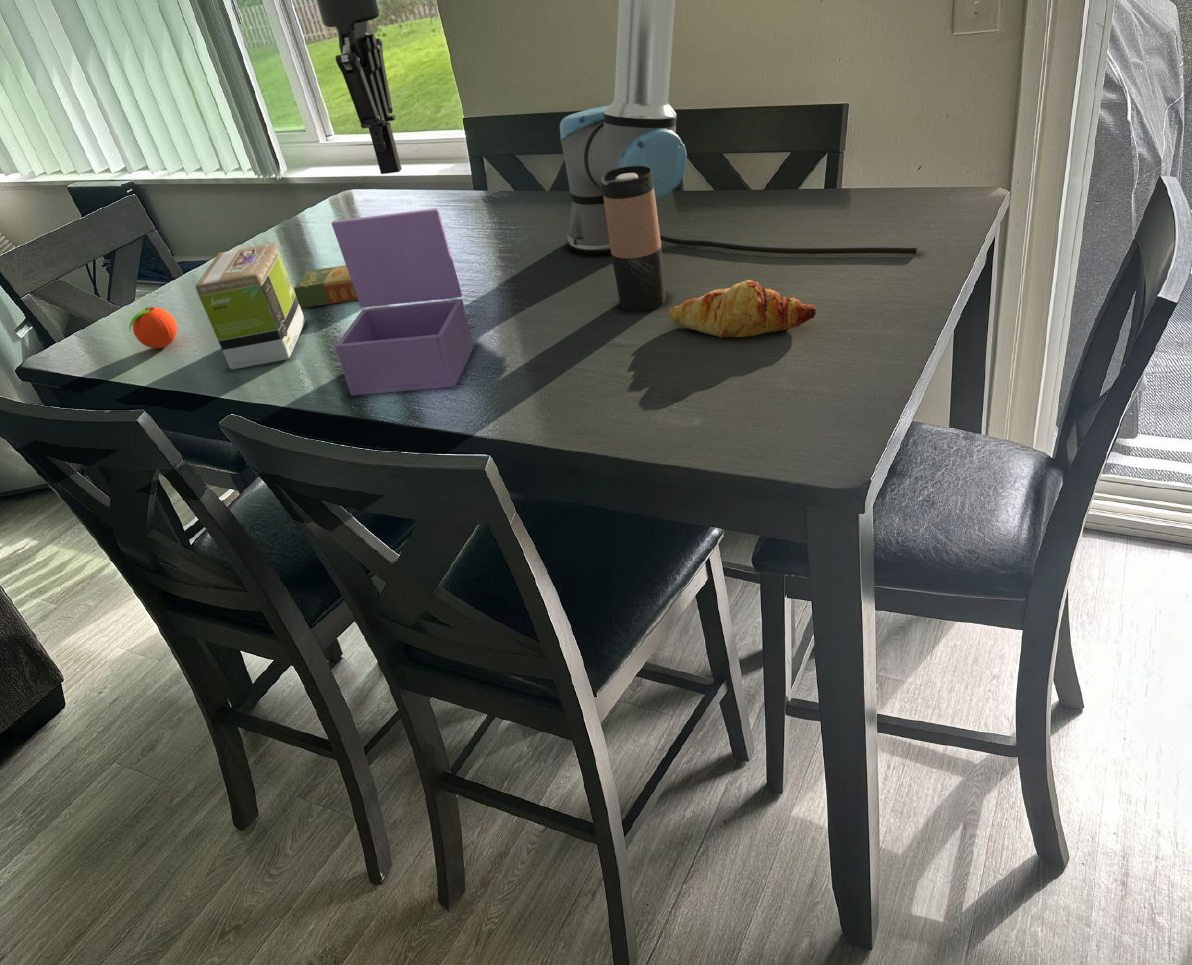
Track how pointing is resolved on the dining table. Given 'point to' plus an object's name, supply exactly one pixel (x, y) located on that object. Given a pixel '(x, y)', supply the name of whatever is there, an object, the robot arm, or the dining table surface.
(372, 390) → the file box
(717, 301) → the croissant
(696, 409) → the dining table surface
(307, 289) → the carton
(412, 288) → the lid
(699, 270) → the dining table surface
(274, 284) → the tea box
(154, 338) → the clementine
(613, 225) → the travel mug
